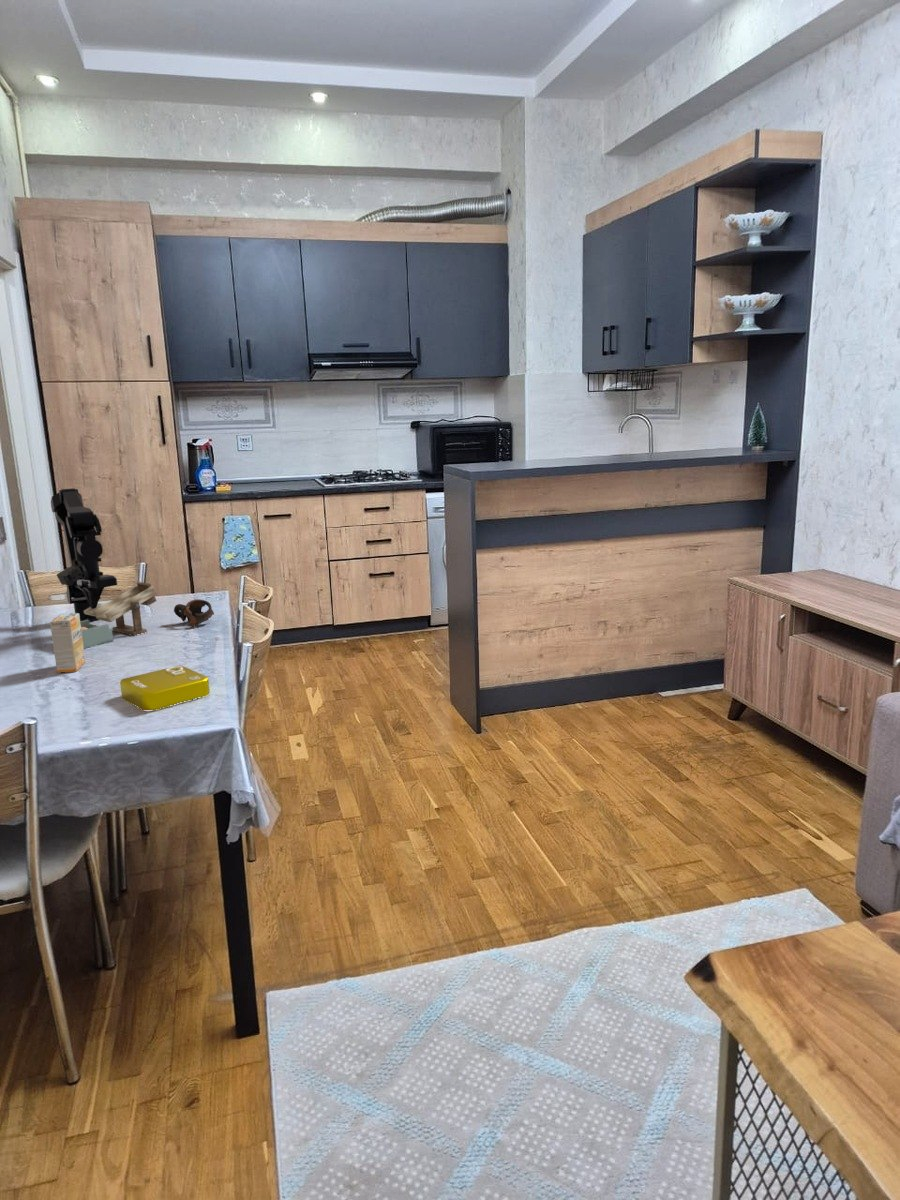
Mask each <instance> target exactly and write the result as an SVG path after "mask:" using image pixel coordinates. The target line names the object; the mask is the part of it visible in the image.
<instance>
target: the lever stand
mask: <svg viewBox="0 0 900 1200" xmlns="http://www.w3.org/2000/svg"><path fill="white" fill-rule="evenodd" d="M115 598H116V597H115ZM115 598H113V599H115ZM140 605H141V604H140ZM140 605H139V601H133V602H131V610H130V611H131V617H132V625H129V624H125V617H124V616H125V615H124V614H123V615H122V616H120V617H119V618H117V619H115V624H116V626H114V627H112V628H111V629H112V632H116V631H117V632H116V633H120V632H121V633H120V634H124V633H126V634H125V635H128V634H131V635H130V636H133V635H136V636H138V635H137V634H140V635H142V634H141V633H144V634H146V633H145V632H147V633H148V631H147V628H143V627H142V617H141V606H140Z"/></svg>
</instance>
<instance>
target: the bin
mask: <svg viewBox="0 0 900 1200" xmlns="http://www.w3.org/2000/svg"><path fill="white" fill-rule="evenodd" d="M90 622H91V621H90ZM90 622H89V620H84V621H80V624H81V627H86V628H88V629H84V630H81V632H82V639H83V647H84V648H85V649H88V647H89V648H92V647H91V646H93V647H96V646H95V645H97V646H100V644H101V645H104V643H105V644H108V643H111V641H112V642H114V636H113V629H112V628H110V627H109V624H108V623H106V624H102V625H97V624H91V623H90Z"/></svg>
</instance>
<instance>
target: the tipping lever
mask: <svg viewBox="0 0 900 1200" xmlns="http://www.w3.org/2000/svg"><path fill="white" fill-rule="evenodd" d="M156 595H157V593H156V590H155V588H154V586H152V584H151V583H148V582H143V581H142V582H141V581H139V582H137V583H136V585H135V586H133V587H132V588H130V589H129V590H126V591H125V592H124V593H122V594H120V595H119V596H118V595H117V596H116V597H115V599H114V598H112V599H111V600H110V601H107V602H106V603H105V604H103V605H102V604H101V605H100V604H97V607H96V608H94V609H92V608H91V607H89V608H88V609H86V610H84V611H83V612H84V614H87V615H91V616H96V618H97V619H98V620H99V621H104V622H108V623H112V622H113V621H116V619H117V618H119V617H120V616H122V615H123V616H124V615H125V614H126V613H129V612H130V611H132V610H131V602H133V601H139V605H143V606H148V607H150V606H151V605H152V604H154V603H155V602H157V599H156Z"/></svg>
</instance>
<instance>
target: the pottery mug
mask: <svg viewBox="0 0 900 1200" xmlns="http://www.w3.org/2000/svg"><path fill="white" fill-rule="evenodd" d="M205 606H207V607H208V609H207V610H206V611H205V612H204V611H202V610H203V608H204V607H205ZM173 612H174V614H175V615H176V616H177V618H180V619H181V621H182V622H185V621H187V622H188V621H189V622H188V625H189V626H190V627H191V628H195V627H196V626H197V625H199V624H202V623H204V622H207V621H208V620H210V619H211V618H212V616H213V615H215V613H214V611H213V607H212V604H211V603H210V602H209V601H207V600H204V599H197V598H195V599H193V600H190V601H188V602H187V603H186V605H185V604H182V603H178V604H175V606H174V607H173Z"/></svg>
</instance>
